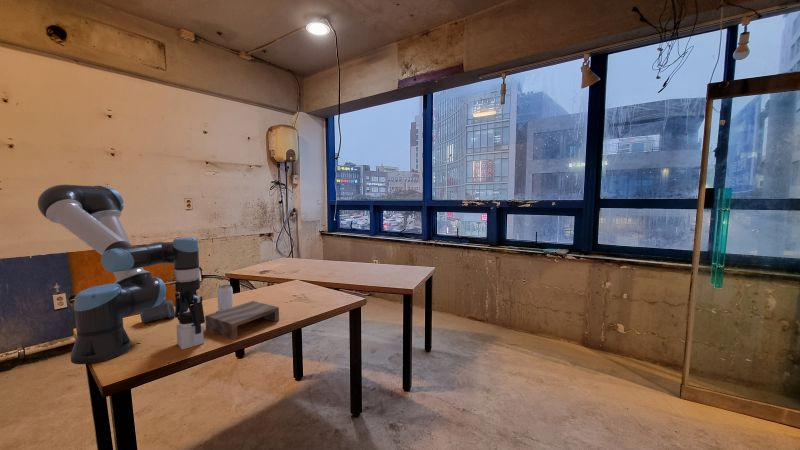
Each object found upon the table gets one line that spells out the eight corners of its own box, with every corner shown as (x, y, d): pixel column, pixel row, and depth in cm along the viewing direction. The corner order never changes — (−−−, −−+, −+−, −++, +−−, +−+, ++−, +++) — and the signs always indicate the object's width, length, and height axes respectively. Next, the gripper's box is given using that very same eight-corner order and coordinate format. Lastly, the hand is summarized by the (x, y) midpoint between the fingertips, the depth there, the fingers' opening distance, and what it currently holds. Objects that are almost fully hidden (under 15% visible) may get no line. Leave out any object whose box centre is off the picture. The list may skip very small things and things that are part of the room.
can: (236, 309, 152) (235, 285, 151) (222, 313, 147) (221, 289, 146) (228, 307, 155) (227, 284, 155) (215, 311, 150) (214, 287, 149)
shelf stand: (205, 329, 128) (205, 315, 128) (253, 313, 147) (252, 300, 147) (232, 339, 120) (232, 324, 119) (279, 320, 139) (278, 307, 138)
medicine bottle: (204, 343, 116) (203, 312, 115) (181, 350, 110) (180, 317, 110) (199, 337, 121) (197, 307, 120) (177, 343, 115) (175, 312, 114)
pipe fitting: (174, 312, 146) (170, 292, 144) (177, 318, 141) (173, 298, 138) (141, 322, 138) (137, 301, 136) (143, 329, 133) (138, 307, 130)
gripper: (214, 280, 112) (217, 341, 114) (183, 274, 122) (186, 329, 124) (192, 285, 105) (195, 349, 107) (161, 278, 115) (164, 337, 117)
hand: (190, 339), depth 115 cm, fingers closed on medicine bottle, 8 cm apart
